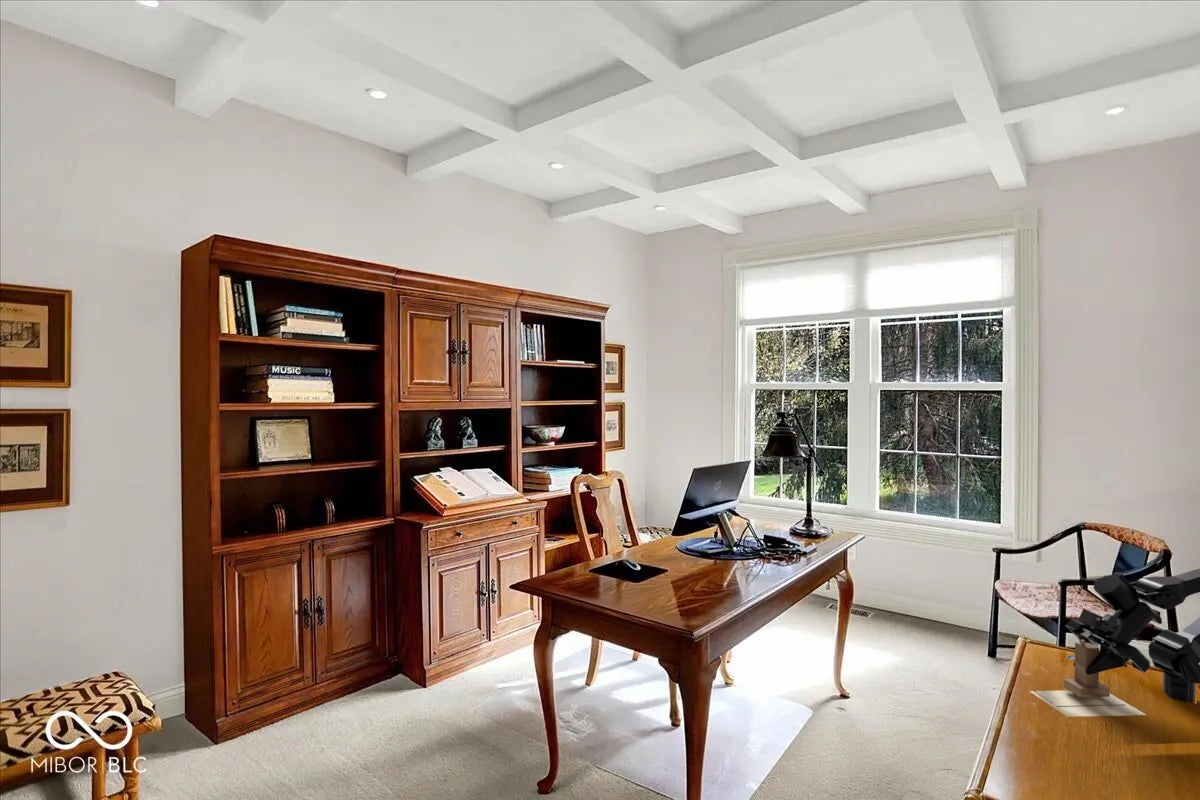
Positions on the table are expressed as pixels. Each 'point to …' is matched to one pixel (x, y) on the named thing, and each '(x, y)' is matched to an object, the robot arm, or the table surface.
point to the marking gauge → (1084, 682)
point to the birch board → (1086, 704)
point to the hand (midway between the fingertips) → (1080, 670)
